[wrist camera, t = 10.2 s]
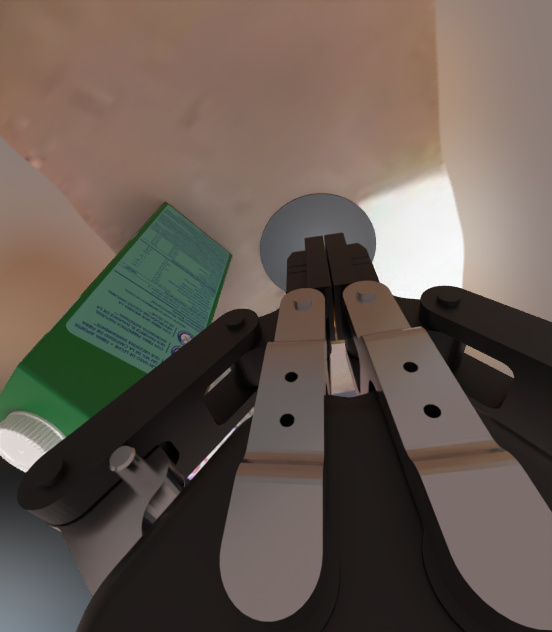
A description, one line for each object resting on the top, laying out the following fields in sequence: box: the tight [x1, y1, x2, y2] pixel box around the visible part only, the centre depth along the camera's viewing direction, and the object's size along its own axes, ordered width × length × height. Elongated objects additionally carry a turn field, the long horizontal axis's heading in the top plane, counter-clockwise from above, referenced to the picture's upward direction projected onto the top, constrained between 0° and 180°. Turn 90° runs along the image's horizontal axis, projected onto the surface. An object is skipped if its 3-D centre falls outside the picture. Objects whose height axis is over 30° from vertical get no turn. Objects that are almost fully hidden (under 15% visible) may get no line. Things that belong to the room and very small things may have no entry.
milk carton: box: [0, 202, 232, 472], centre depth 27 cm, size 9×9×25 cm
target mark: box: [260, 194, 376, 292], centre depth 35 cm, size 13×13×1 cm
